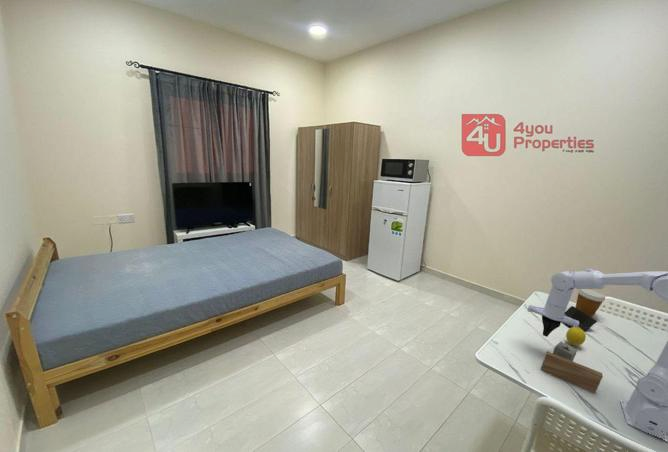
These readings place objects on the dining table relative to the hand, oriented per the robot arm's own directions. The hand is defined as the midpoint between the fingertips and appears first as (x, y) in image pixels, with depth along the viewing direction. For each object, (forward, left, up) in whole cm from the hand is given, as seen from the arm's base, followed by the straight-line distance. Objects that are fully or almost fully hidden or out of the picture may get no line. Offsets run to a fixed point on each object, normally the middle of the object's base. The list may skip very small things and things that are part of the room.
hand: (545, 334), depth 102 cm
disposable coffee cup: (+44, -17, -7) cm, 48 cm away
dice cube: (0, -7, -7) cm, 10 cm away
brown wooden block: (-11, -8, -7) cm, 15 cm away
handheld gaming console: (+31, -12, -8) cm, 34 cm away
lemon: (+13, -11, -7) cm, 18 cm away
